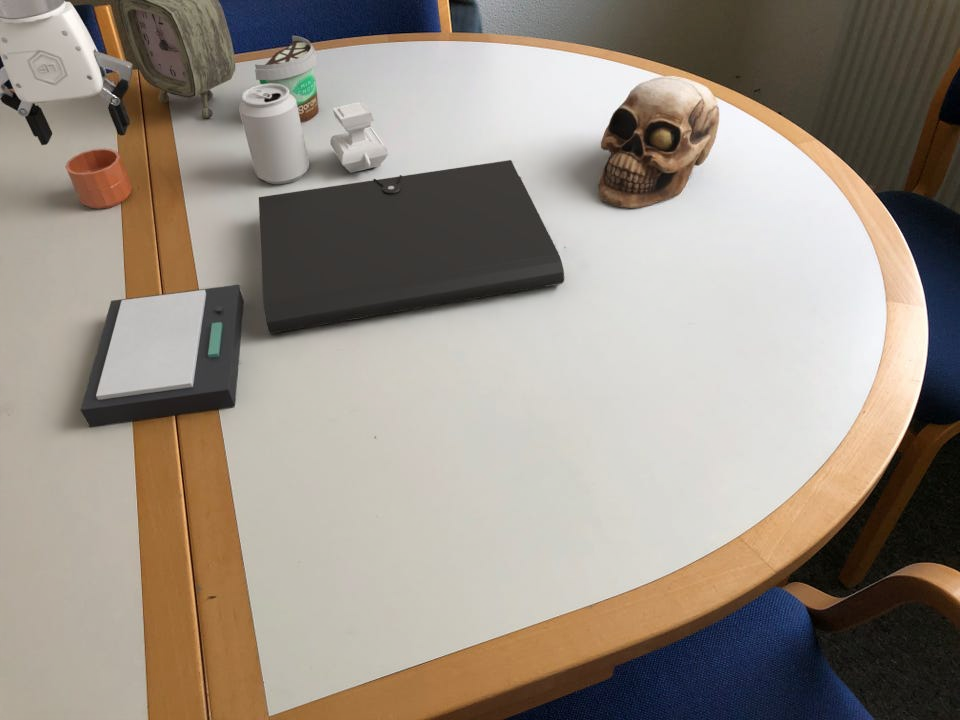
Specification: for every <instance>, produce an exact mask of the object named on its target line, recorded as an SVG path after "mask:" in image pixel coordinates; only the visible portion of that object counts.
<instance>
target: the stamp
mask: <svg viewBox="0 0 960 720" xmlns="http://www.w3.org/2000/svg"><path fill="white" fill-rule="evenodd" d="M332 111H333V115H334V117H335V118H336V120H337V121H338V123H339V124H340V125H341V126H342V128H344V130H345V132H344V133H339V134H334V135H332V136H331V137H330V146H331V148H332V150H333V151H334V153H335V154H336V156H337V158H338V160H339V162H340V163H341V165H342V166H343V167H344V168H345V169H346V170H347V171H349V173H350V174H352V173H356V172H360V171H364V170H369V169H372V168H378V167H381V165H382V164H383V162H384V161H385V160H386V159H387V157H388V156H389V151H388V149H387V147H386V146H385V144H384V143H383V141H382V140H381V138H380V137H379V136H378V134H377V133H376V131H375V130H374V129H373V127H371V126H372V122H373V121H375V120H374V117H373V114H372V112H371V111H370V110H369V109H368V108H367V106H366V105H365V104H364V102H362V101H358V102H353V103H349V104H345V105H341V106H336V107H333V108H332Z"/></svg>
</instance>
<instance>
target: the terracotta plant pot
mask: <svg viewBox="0 0 960 720" xmlns="http://www.w3.org/2000/svg"><path fill="white" fill-rule="evenodd" d="M65 170H66V172H67V175H68V176H69V177H68V178H69V179H70V181H71V183H72V186H73V188H74V190H75V193H76V196H77V197H78V199H79V202H80V203H81V205H84V206H85V207H87V208H91V209H95V210H96V209H97V210H99V209H100V210H101V209H109V208H112V207H115V206H118V205H120V204H122V203H123V202H125V201H126V200H127V199H128V198H129V196H130V195H131V194H132V190H133V186H132V183H131V181H130V179H129V176H128V173H127V171H126V168H125V165H124V163H123V160H122V158H121V156H120V154H119V152H118V151H117V150H114V149H111V148H94V149H90V150H86V151H83V152H80V153H78V154H76V155H74V156H72V157H71V158H70V159H69V160H67V162H66V164H65ZM125 199H126V200H125ZM124 200H125V201H124ZM121 202H122V203H121Z"/></svg>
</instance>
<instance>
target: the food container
mask: <svg viewBox="0 0 960 720" xmlns="http://www.w3.org/2000/svg"><path fill="white" fill-rule="evenodd" d="M291 38H292V42H290V44H289V45H288V46H286V47H285V48H283V49H281V50H279V51H277V52H275V53H274V54H273V55H272V56H271V58H270V59H269V60H268V61H267V62H266V63H265V64H257V63H256V64H254V66H255V69H254V71H255V80H257V81H259V83H260V84H259V85H261V84H270V83H272V84H280V85H283V86H285V87H287V88H288V89H289V94H291V95H292V96H294V98H295V99H296V102H297V107H298V112H299V117H300V122H301V124H303V123H306V122H309V121H310V120H312V119H313V118H315V117H316V116H317V115H318V113H319V110H320V109H319V99H318V90H317V80H316V69H315V66H316V65H317V63H318V58H319V57H318V55H317V53H316V50H315V48H314V45H312V43H311V41H309V40H308V39H306V38H304V37H302V36H298V35H291Z"/></svg>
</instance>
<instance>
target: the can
mask: <svg viewBox="0 0 960 720" xmlns="http://www.w3.org/2000/svg"><path fill="white" fill-rule="evenodd" d="M240 98H241V102H240V103H239V107H238V110H239V114H240V119H241V122H242V127H243V129H244V134H245V138H246V142H247V145H248V149H249V152H250V153H249V154H250V157H251V161H252V164H253V165H252V166H253V169H254V173H255V175H256V176H257V178H259V179H260V180H263V181H265V182H266V183H268V184H272V185H286V184H290V183H293V182H295V181H298V180H299V179H301V178H302V177H303V176H304V175H305V174H306V172H307V170H308V169H309V168H310V161H309V157H308V151H307V147H306V141H305V136H304V132H303V127H302V123H301V122H300V117H299V112H298V107H297V102H296V99H295V98H294V96H292V95H291V94H289V89H288V88H287V87H285V86H283V85H280V84H272V83H270V84H257V85H254V86H251V87H249V88H247V89H245V90H244V91H243V92H242V93H241V97H240Z"/></svg>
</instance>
